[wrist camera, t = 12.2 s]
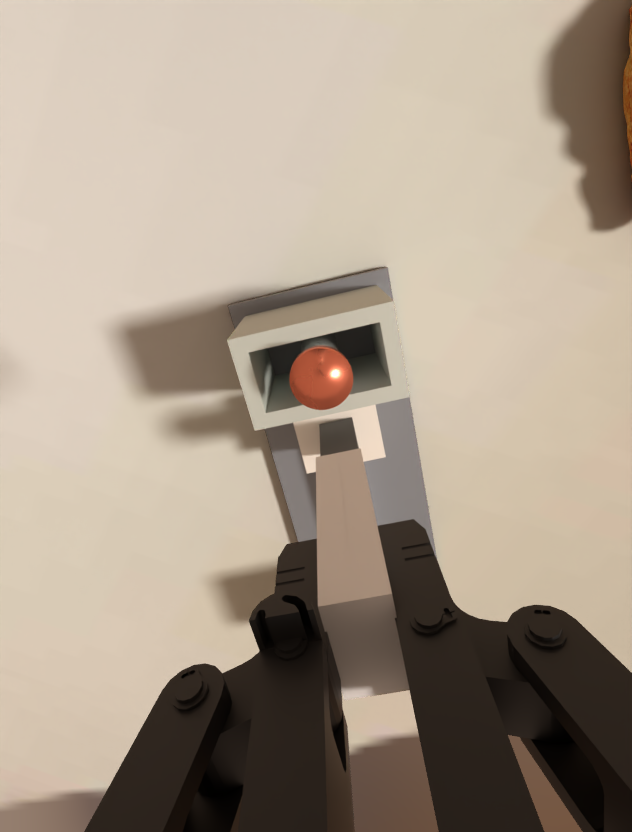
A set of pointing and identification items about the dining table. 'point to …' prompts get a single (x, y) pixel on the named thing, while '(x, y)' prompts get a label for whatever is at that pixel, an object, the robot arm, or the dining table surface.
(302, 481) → the rail fixture
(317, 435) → the block
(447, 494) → the dining table surface
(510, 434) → the dining table surface
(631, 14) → the croissant
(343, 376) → the ball
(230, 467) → the dining table surface
